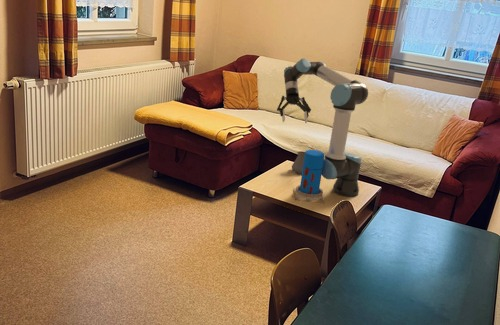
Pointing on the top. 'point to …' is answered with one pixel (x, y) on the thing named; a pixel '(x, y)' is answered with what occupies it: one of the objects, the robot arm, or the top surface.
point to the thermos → (312, 172)
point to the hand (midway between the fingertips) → (295, 121)
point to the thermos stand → (308, 196)
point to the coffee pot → (299, 162)
